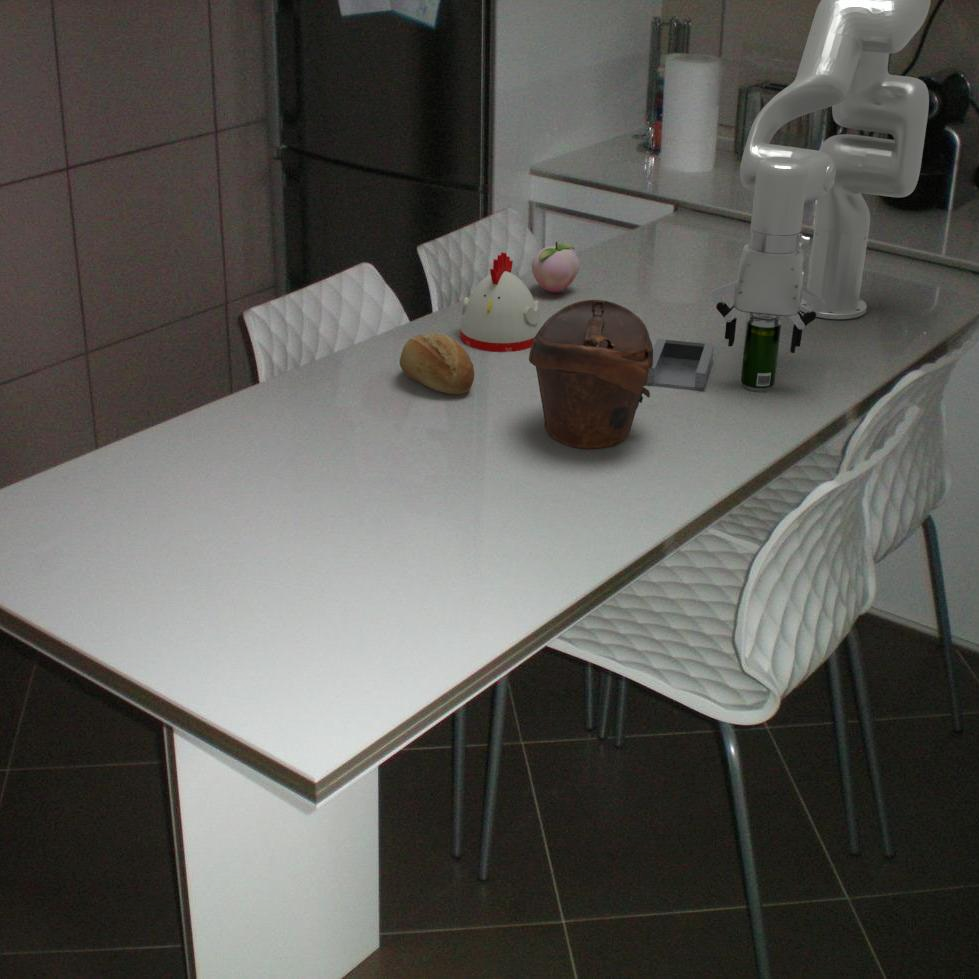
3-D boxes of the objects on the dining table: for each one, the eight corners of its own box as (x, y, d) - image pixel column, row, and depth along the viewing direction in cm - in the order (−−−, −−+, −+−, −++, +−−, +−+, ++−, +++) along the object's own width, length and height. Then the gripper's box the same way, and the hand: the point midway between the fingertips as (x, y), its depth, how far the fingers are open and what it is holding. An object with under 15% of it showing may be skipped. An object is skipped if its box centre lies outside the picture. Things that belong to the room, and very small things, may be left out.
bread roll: (440, 407, 212) (440, 358, 209) (384, 377, 222) (383, 330, 219) (488, 392, 218) (489, 344, 214) (431, 363, 228) (431, 317, 224)
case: (570, 470, 193) (577, 350, 185) (503, 418, 209) (507, 305, 201) (676, 448, 201) (687, 332, 193) (603, 399, 216) (611, 290, 208)
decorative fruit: (548, 282, 265) (550, 231, 260) (584, 290, 261) (587, 239, 256) (521, 295, 258) (522, 243, 254) (557, 304, 254) (559, 251, 249)
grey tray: (656, 355, 232) (657, 338, 231) (712, 361, 230) (714, 344, 229) (644, 384, 221) (645, 367, 219) (703, 391, 219) (705, 373, 217)
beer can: (780, 390, 220) (788, 319, 214) (750, 394, 218) (758, 322, 212) (763, 377, 224) (771, 307, 218) (733, 381, 222) (741, 311, 217)
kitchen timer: (447, 344, 235) (447, 260, 228) (478, 319, 247) (479, 237, 240) (523, 357, 231) (526, 271, 224) (551, 330, 242) (554, 247, 235)
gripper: (833, 239, 211) (818, 344, 218) (719, 229, 214) (709, 333, 222) (831, 253, 204) (816, 361, 212) (714, 242, 208) (704, 349, 215)
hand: (761, 346), depth 217 cm, fingers open, 9 cm apart
